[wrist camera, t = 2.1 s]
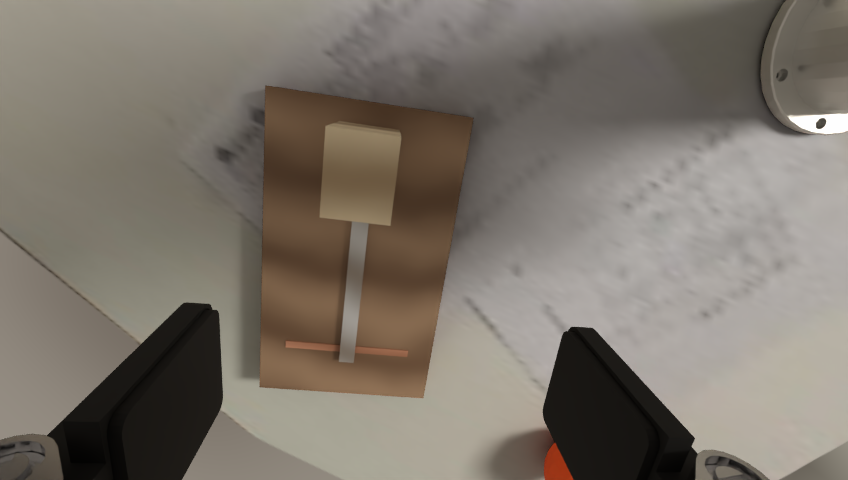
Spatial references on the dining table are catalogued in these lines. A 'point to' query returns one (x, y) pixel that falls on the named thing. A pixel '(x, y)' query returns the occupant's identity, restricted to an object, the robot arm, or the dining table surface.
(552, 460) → the clementine
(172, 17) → the dining table surface
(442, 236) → the board
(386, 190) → the block
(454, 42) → the dining table surface
